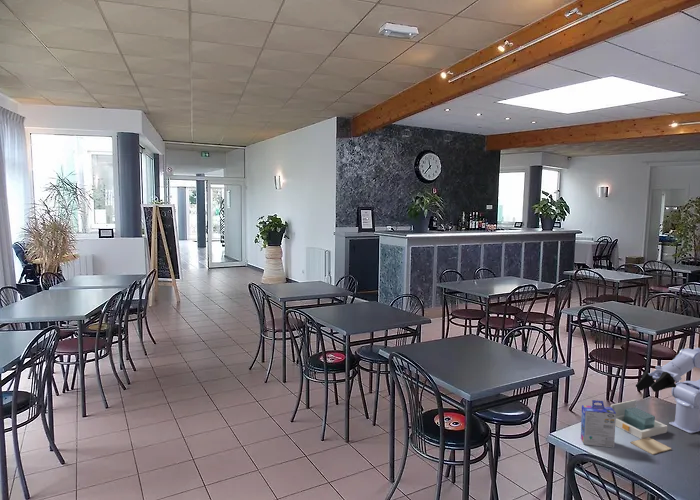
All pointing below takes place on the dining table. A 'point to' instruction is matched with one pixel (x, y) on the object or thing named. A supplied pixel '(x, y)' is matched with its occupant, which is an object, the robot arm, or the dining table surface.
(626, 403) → the case lid
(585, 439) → the ink cartridge box
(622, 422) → the case
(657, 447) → the oak pad
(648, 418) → the block
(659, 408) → the dining table surface
